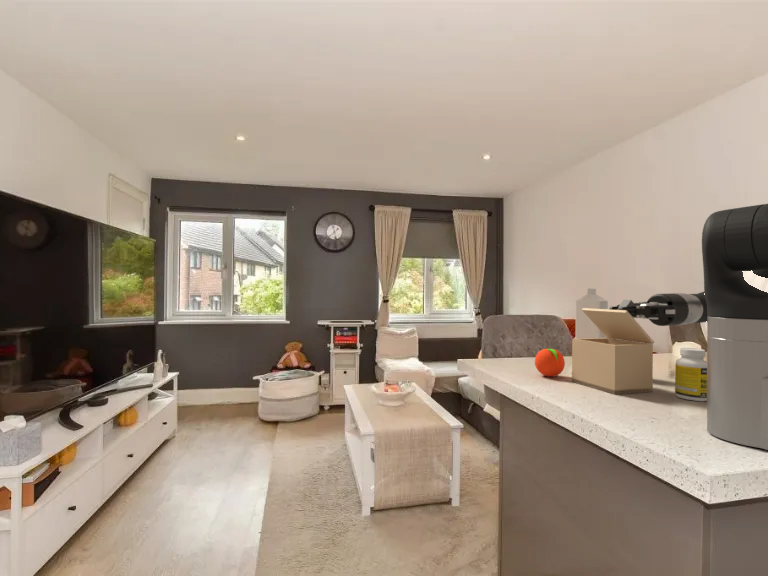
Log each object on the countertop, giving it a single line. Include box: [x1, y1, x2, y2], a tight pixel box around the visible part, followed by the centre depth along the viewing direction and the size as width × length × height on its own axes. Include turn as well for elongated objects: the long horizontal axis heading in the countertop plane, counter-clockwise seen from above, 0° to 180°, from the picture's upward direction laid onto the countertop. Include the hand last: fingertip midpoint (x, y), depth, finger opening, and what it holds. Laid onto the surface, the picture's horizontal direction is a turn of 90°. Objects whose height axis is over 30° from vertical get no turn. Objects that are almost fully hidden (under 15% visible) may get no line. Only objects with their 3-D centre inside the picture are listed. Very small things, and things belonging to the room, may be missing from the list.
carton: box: [571, 338, 654, 395], centre depth 89 cm, size 12×10×10 cm
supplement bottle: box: [674, 347, 707, 402], centre depth 80 cm, size 5×5×10 cm
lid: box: [582, 299, 655, 345], centre depth 90 cm, size 12×10×7 cm
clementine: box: [534, 347, 566, 378], centre depth 99 cm, size 8×7×7 cm
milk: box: [574, 288, 609, 339], centre depth 106 cm, size 6×6×22 cm
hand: (615, 311), depth 90 cm, fingers closed on lid, 2 cm apart
